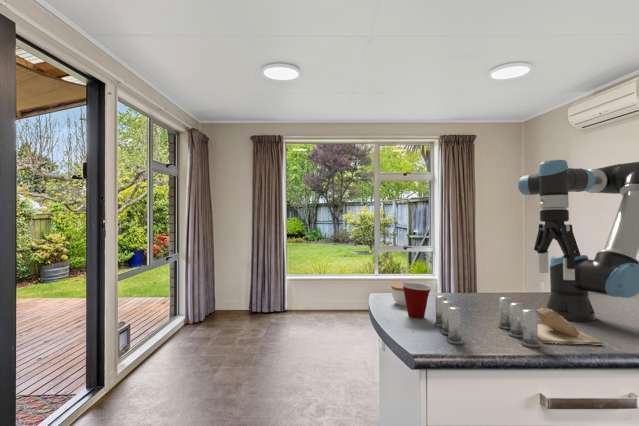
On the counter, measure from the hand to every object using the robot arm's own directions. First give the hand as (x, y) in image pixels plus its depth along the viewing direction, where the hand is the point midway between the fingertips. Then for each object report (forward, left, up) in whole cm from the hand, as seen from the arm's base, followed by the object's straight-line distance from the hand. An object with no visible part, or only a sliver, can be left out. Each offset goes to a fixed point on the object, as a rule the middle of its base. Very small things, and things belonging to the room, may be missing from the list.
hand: (555, 276), depth 106 cm
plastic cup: (+40, -16, -19) cm, 47 cm away
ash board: (0, 0, -19) cm, 19 cm away
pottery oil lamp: (0, 0, -18) cm, 18 cm away
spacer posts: (+23, +2, -19) cm, 30 cm away
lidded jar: (+42, -36, -19) cm, 59 cm away
